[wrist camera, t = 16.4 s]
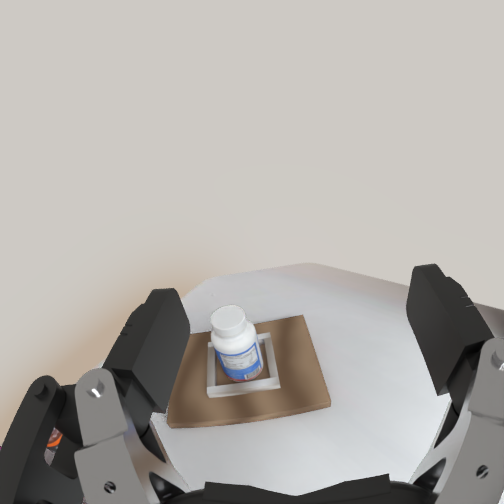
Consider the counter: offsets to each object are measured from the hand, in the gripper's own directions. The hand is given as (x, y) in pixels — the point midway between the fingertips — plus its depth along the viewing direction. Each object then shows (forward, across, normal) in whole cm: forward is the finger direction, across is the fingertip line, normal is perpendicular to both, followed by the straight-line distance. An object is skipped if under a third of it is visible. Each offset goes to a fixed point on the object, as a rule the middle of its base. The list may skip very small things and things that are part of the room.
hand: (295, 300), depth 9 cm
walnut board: (+16, +8, +26) cm, 32 cm away
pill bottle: (+16, +8, +25) cm, 30 cm away
